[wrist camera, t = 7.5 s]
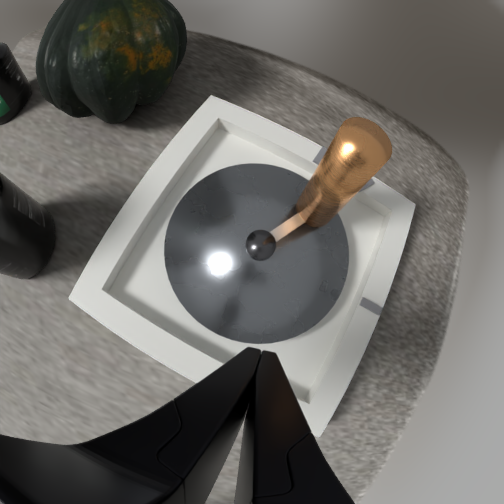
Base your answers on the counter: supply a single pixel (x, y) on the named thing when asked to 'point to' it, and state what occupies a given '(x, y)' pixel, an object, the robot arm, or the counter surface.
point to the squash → (109, 55)
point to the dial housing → (172, 311)
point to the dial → (270, 240)
